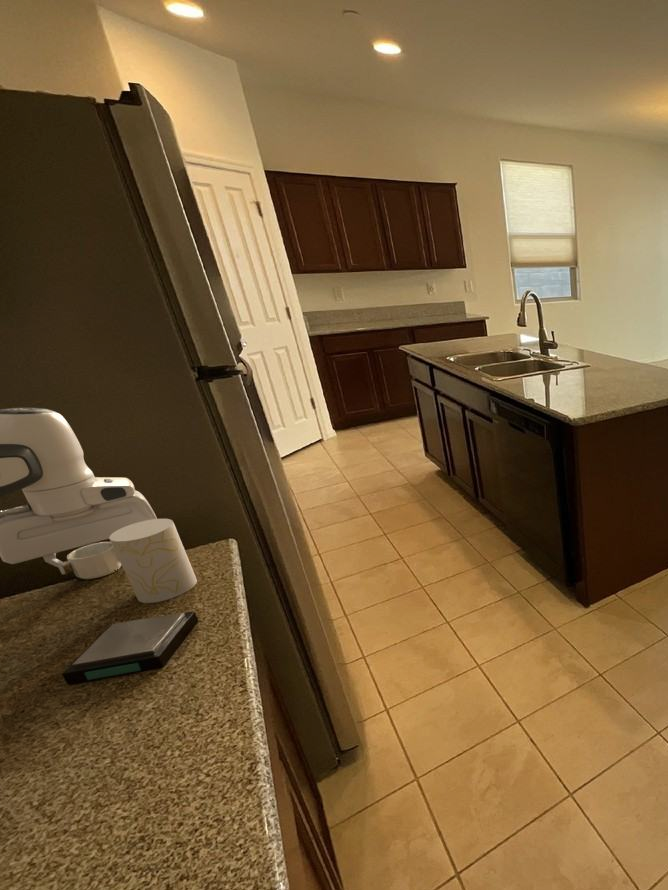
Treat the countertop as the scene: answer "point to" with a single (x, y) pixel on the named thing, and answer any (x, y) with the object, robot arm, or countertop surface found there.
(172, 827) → the countertop surface
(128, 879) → the countertop surface
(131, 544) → the cup
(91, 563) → the bowl
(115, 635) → the scale
